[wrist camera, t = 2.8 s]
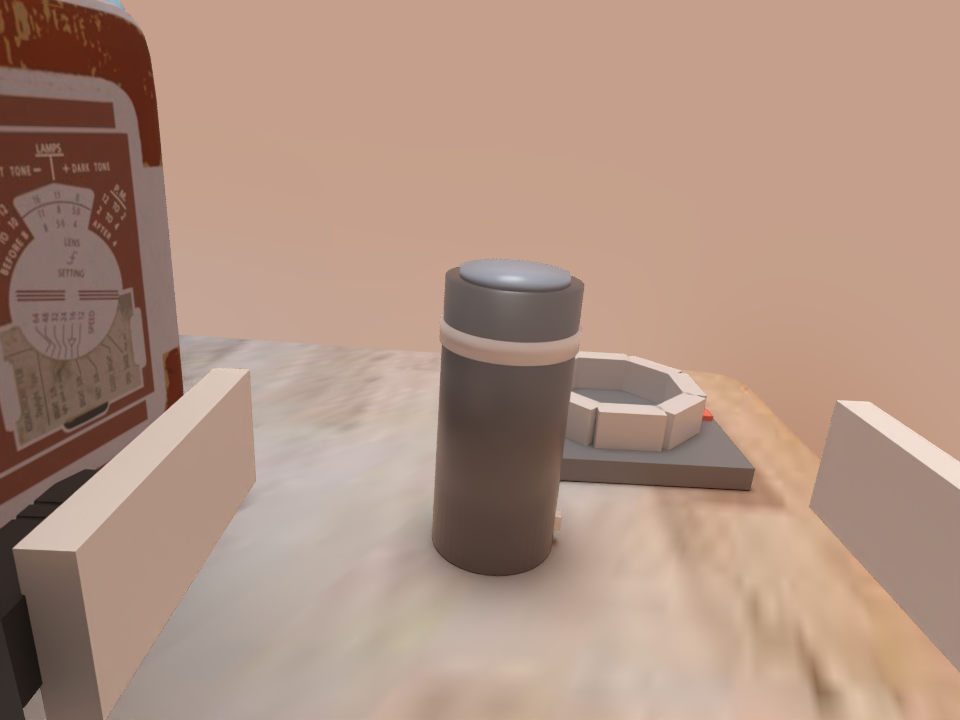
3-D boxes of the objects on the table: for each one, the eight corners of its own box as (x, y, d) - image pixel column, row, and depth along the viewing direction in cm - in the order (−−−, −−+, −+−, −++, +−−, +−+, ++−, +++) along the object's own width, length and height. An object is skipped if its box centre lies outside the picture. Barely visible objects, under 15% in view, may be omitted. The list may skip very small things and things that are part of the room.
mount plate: (509, 477, 32) (514, 417, 31) (499, 386, 43) (503, 340, 42) (750, 490, 32) (763, 431, 31) (678, 396, 44) (686, 351, 43)
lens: (425, 573, 25) (439, 282, 21) (433, 499, 30) (445, 252, 26) (565, 580, 25) (605, 292, 21) (549, 505, 30) (580, 261, 26)
